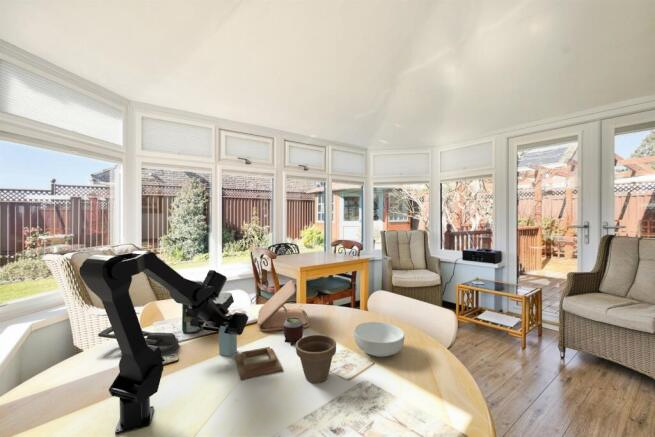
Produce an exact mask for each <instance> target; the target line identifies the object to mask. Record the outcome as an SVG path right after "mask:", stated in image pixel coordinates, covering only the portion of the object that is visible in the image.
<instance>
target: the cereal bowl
mask: <svg viewBox="0 0 655 437" xmlns="http://www.w3.org/2000/svg"><path fill="white" fill-rule="evenodd" d="M353 337H354V342H355V344H356V346H357V347H358V348H359V349H360V350H361V351H363V352H364V353H366V354H369V355H370V356H373V357H378V358H384V357H388V356H393V355H395V354H397V353H399V352H400V351H401V349H402V348H403V345H404V342H405V331H404V330H403V329H402V328H400V327H398V326H397V325H394V324H391V323H388V322H382V321H368V322H362V323H359V324H357V325H356V326H355V327H354V329H353Z"/></svg>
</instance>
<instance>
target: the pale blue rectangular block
mask: <svg viewBox="0 0 655 437" xmlns="http://www.w3.org/2000/svg"><path fill="white" fill-rule="evenodd" d="M234 313H235V312H232V311H229V312H228V314H226V316H229V315H230V314H233V315H234ZM225 329H226V327H220V329H219V332H218V345H219V346H218V354H219V356H224V357H231V356H232V355H233V354H235V353H236V352H237V351H238V343H237V342H238V341H237V340H238V338H237V337H238V335H235V334H227V333H224V332H225Z"/></svg>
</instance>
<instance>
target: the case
mask: <svg viewBox="0 0 655 437" xmlns="http://www.w3.org/2000/svg"><path fill="white" fill-rule="evenodd" d="M296 287H297V286H296V284H295V283H294V281H293V280H292V279H290V280H288V281H287V282H286V283H285V284H284V285H282V287H281V288H279V289H278V291H276V292H275V294H273V295H272V297H270V298H269V300H267V301H266V302H265V303H264V304H263V305H262V306H261V307H260V308H259V310H258V314H257V315H258V316H257V326H258V330H259V331H260V332H262V333H264V332H276V331H284V330H283V326H284V323H285V321H286V320H287V319H288V318H287V315H286V312H285V310H284V309H281V308H283V307H282V306H285V304H287V303H288V302H289V301H290V300H291V299H292V298H293V296H295V294H296V292H297V289H296ZM280 305H282V306H280ZM287 313H288V316H289V318H293V317H294V318H299V319H300V320H301V321H302V324H303V329H307V328H309V327H310V322H309V319H308V315H307V314H306V311H305V310H303V309H301V308H300V309H297V308H295V309H287Z"/></svg>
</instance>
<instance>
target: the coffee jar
mask: <svg viewBox="0 0 655 437" xmlns="http://www.w3.org/2000/svg"><path fill="white" fill-rule="evenodd" d="M196 282H197V283H199V284H201V285H202V283H203V281H196ZM181 305H182V307H181V309H182V310H181V311H182V312H181V314H182V315H181V331H182V332H183V333H187V334H194V333H196V332H200V331H201V330H203V327H204V326H201V324H200V326H201V328H200V329H196V328H193V327H191V326H190V321H191V319H192V318H191V317H186V316H185V314H186V311H187V308H189V305H187V304H181ZM201 323H202V322H201Z"/></svg>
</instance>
